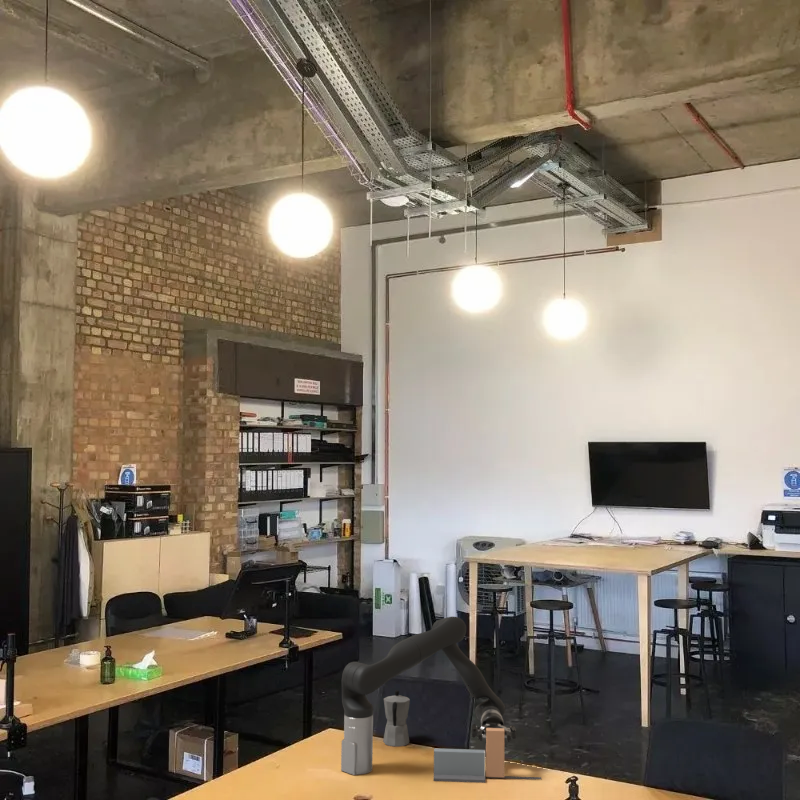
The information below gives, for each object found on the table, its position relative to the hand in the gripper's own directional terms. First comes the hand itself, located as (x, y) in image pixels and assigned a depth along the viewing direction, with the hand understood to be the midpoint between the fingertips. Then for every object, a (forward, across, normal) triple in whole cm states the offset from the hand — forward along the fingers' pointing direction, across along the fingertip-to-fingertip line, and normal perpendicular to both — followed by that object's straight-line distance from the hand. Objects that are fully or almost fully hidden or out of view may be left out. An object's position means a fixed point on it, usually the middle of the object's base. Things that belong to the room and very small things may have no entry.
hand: (494, 738), depth 271 cm
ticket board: (+1, -2, +11) cm, 12 cm away
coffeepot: (-29, -33, +12) cm, 46 cm away
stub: (+2, 0, +12) cm, 12 cm away
